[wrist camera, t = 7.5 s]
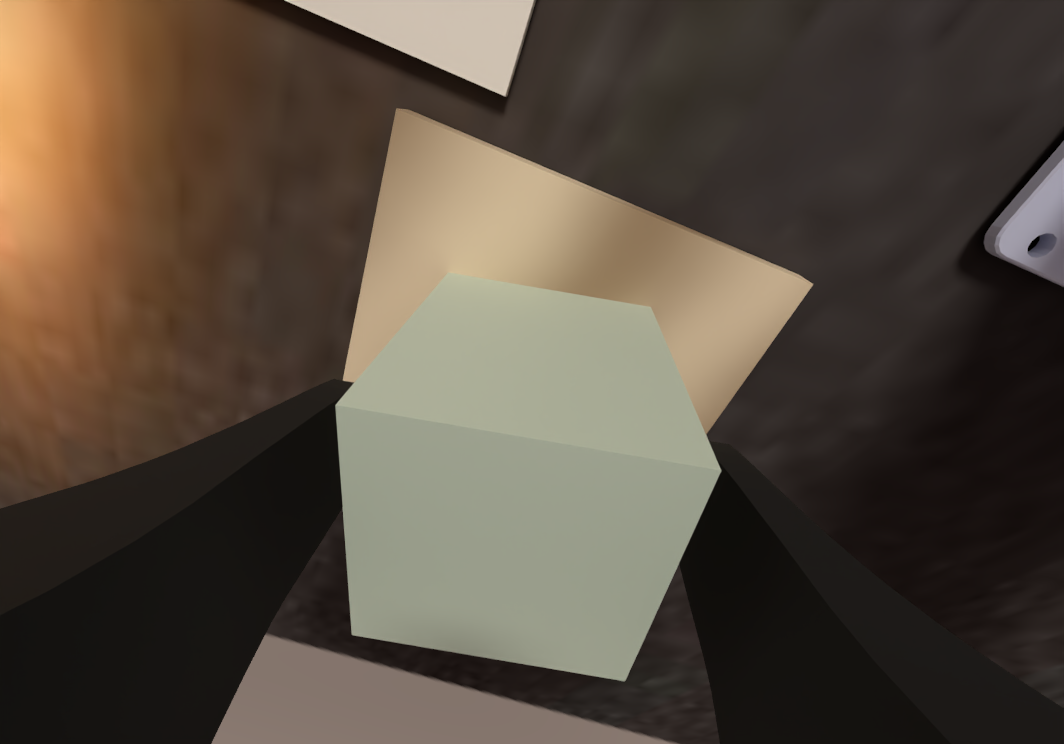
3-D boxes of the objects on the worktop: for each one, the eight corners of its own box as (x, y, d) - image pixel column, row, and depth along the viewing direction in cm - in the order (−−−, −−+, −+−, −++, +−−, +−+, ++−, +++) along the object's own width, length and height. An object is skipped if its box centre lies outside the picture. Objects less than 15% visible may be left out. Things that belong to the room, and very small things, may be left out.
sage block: (651, 307, 11) (721, 470, 6) (604, 464, 13) (625, 681, 8) (448, 272, 11) (335, 404, 6) (438, 436, 13) (352, 634, 8)
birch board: (798, 274, 11) (813, 284, 11) (618, 534, 16) (620, 553, 15) (408, 109, 10) (396, 108, 9) (339, 439, 15) (327, 455, 14)
